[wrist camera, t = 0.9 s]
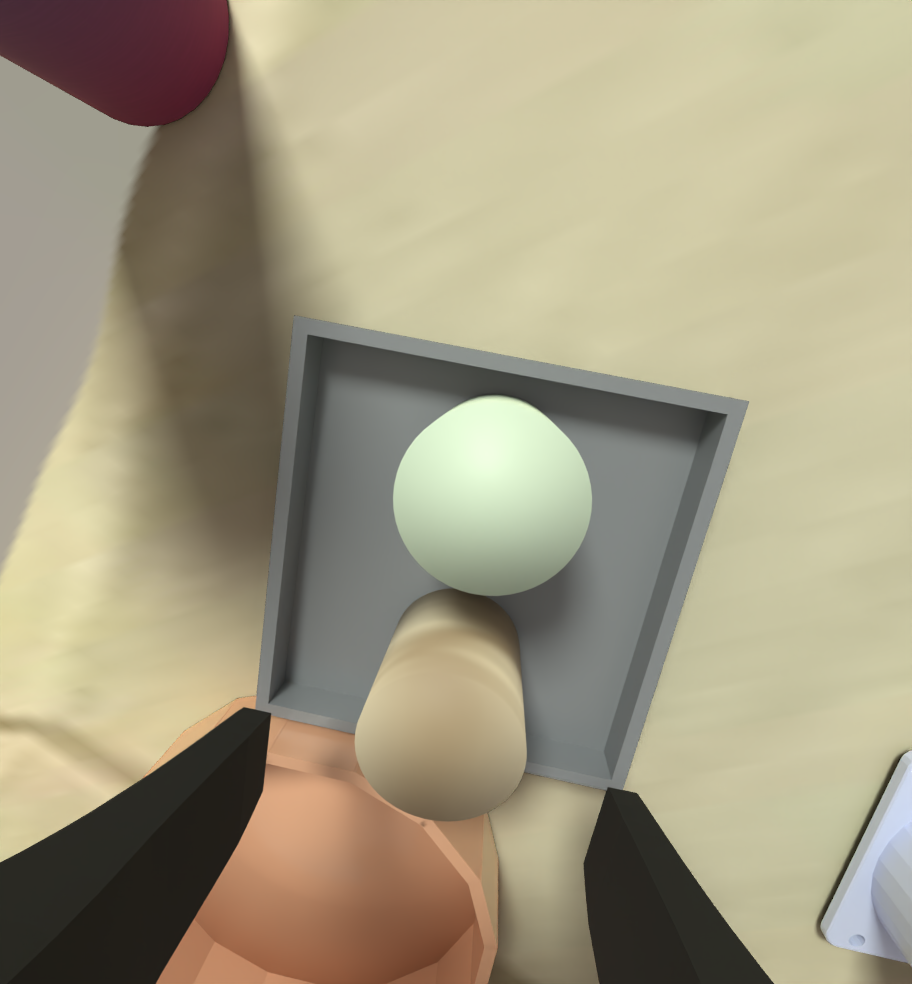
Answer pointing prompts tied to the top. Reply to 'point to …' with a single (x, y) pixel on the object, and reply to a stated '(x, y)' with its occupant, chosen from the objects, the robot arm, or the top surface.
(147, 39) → the cup
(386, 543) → the tray
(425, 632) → the beige rounded cylinder
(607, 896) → the robot arm
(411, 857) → the bowl
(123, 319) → the top surface
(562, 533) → the mint green rounded cylinder
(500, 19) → the top surface
